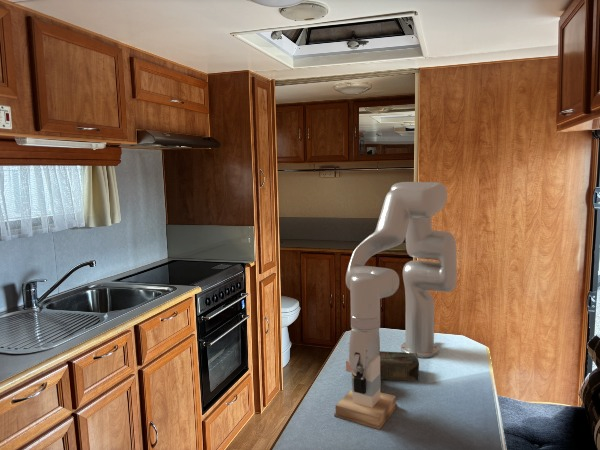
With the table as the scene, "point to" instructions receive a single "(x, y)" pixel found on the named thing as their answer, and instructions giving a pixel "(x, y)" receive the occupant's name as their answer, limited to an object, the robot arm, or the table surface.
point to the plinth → (366, 410)
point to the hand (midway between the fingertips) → (366, 385)
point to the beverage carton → (399, 366)
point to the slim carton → (369, 384)
